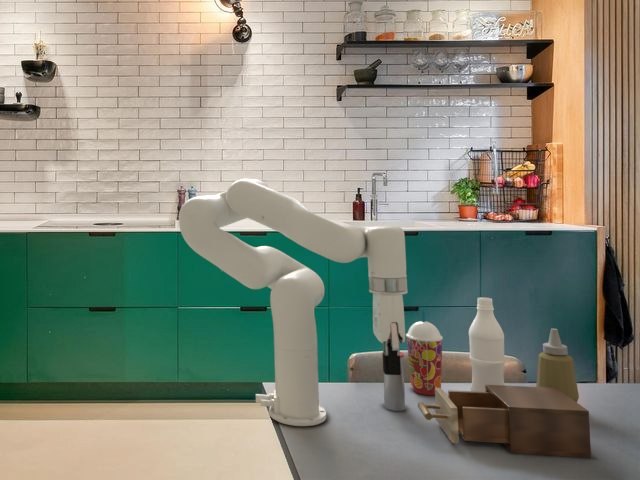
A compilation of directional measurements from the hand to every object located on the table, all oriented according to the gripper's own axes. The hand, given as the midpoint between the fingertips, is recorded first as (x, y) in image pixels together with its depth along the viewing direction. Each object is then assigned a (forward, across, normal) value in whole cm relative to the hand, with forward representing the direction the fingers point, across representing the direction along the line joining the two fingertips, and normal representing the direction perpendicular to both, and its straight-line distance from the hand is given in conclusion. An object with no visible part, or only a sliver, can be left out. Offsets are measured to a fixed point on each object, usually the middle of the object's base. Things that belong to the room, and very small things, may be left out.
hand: (392, 373), depth 117 cm
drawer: (+11, 0, +14) cm, 18 cm away
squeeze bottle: (+13, -18, +38) cm, 44 cm away
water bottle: (+12, -16, +24) cm, 31 cm away
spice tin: (+12, -14, +3) cm, 19 cm away
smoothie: (+12, -26, +12) cm, 32 cm away
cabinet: (+12, 0, +26) cm, 29 cm away
